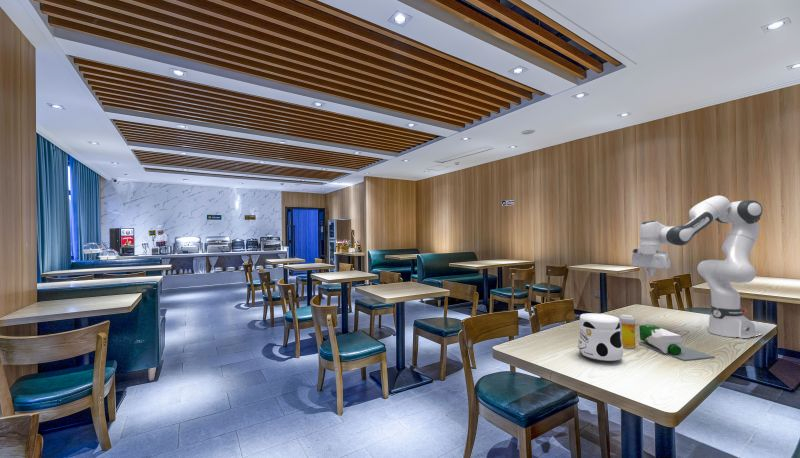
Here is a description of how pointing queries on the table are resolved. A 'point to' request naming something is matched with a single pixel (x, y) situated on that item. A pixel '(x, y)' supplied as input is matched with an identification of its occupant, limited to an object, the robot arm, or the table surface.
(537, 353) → the table surface
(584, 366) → the table surface
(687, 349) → the mat
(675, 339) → the white carton
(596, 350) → the milk container
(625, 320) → the beer can
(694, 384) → the table surface
